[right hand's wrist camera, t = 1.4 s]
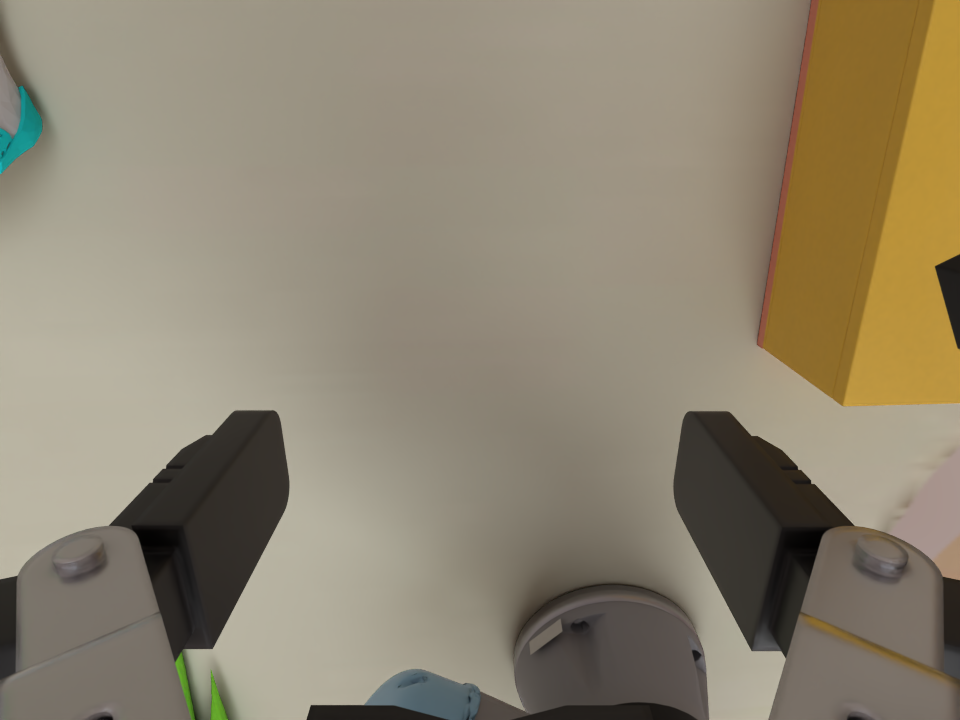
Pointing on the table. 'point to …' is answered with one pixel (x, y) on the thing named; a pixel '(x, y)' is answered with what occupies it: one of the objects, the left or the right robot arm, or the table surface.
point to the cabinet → (870, 205)
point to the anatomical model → (15, 119)
